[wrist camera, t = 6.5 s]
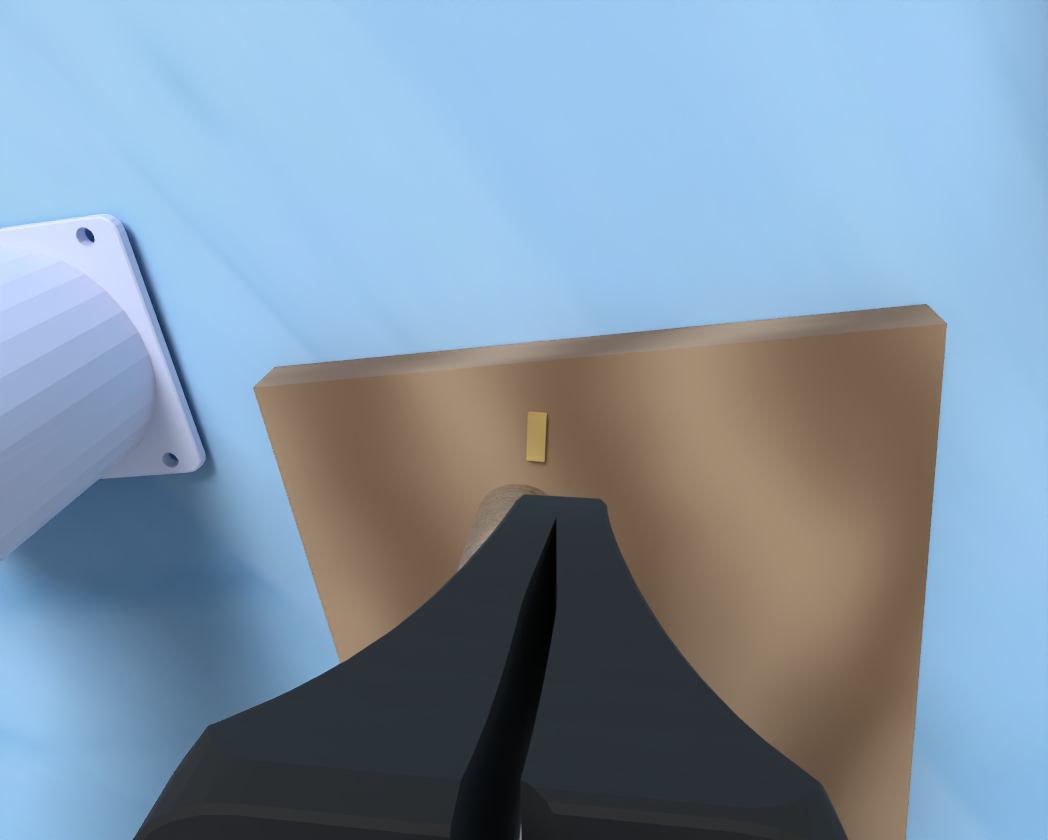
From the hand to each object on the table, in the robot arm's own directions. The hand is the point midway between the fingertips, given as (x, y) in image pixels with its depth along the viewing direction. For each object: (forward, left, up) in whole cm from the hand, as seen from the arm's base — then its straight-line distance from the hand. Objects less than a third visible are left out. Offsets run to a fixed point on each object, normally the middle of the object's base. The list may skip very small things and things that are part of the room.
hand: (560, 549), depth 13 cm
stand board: (0, -10, -10) cm, 14 cm away
